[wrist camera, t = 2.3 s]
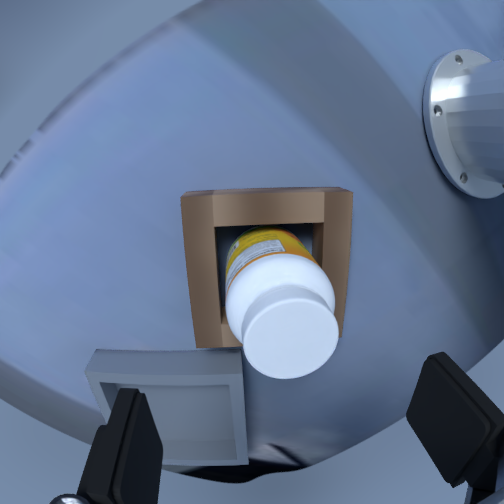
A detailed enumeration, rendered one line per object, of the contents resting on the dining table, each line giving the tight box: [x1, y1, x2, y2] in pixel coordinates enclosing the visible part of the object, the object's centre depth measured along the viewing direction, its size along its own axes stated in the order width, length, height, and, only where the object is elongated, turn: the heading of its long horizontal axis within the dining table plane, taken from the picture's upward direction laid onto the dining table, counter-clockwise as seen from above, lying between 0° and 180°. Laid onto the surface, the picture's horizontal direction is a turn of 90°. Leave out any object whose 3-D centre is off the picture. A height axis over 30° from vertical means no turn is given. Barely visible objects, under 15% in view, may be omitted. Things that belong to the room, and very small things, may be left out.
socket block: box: [180, 187, 353, 348], centre depth 20 cm, size 10×10×2 cm
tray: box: [84, 349, 249, 466], centre depth 24 cm, size 12×12×3 cm
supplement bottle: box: [225, 225, 339, 379], centre depth 17 cm, size 5×5×10 cm
